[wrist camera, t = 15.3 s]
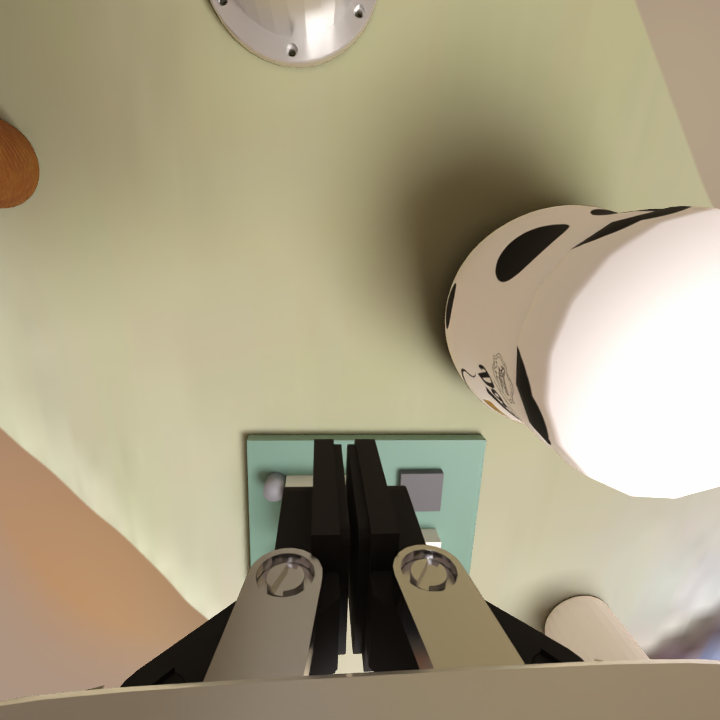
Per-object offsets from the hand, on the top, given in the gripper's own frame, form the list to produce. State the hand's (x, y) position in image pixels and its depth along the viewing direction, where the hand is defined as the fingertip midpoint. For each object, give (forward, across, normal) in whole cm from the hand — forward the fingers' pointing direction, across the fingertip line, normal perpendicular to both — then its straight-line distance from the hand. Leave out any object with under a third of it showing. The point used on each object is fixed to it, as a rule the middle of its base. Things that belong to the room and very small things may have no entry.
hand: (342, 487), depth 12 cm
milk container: (+27, -18, -1) cm, 32 cm away
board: (+26, -4, +19) cm, 33 cm away
